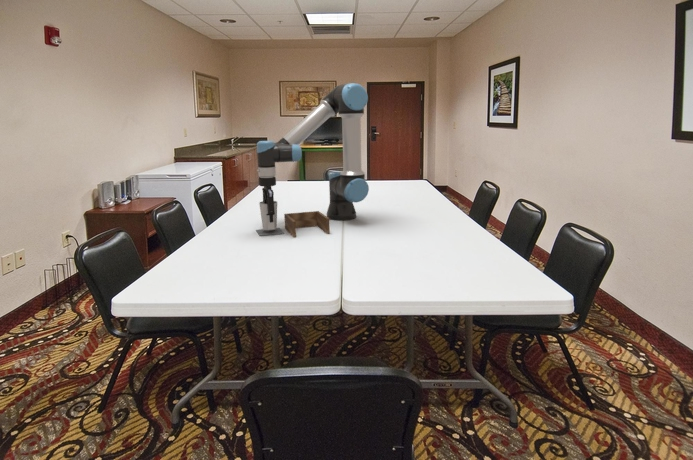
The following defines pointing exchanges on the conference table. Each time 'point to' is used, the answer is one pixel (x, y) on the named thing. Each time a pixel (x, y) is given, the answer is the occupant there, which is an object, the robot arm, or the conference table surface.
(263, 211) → the cup
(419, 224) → the conference table surface
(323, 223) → the three-sided wooden box
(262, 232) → the mat
